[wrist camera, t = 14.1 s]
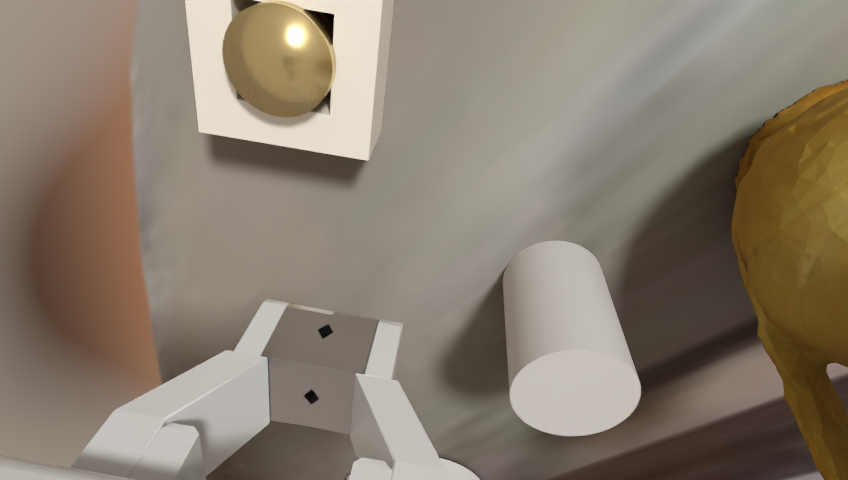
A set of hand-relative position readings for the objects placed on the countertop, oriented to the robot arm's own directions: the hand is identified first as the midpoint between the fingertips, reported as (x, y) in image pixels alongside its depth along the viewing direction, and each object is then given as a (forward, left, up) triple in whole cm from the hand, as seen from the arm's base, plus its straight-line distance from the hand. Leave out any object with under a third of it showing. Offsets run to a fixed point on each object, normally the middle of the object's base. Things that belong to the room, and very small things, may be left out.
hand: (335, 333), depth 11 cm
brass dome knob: (-1, +8, -26) cm, 28 cm away
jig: (-1, +8, -27) cm, 28 cm away
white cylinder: (-17, -13, -27) cm, 34 cm away
